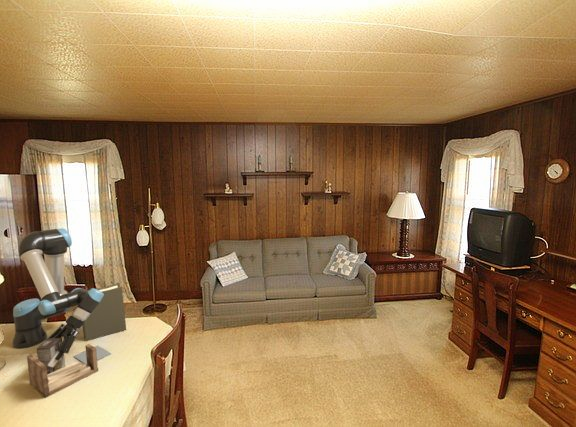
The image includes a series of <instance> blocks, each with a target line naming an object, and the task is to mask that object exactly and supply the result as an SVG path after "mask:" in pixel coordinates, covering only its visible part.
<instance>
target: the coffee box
mask: <svg viewBox="0 0 576 427" xmlns="http://www.w3.org/2000/svg"><path fill="white" fill-rule="evenodd" d="M48 338H49V337H48ZM48 338H47V339H48ZM47 339H45V340H44V341H43V342H42V343H41V344H40V345H39V346H38V347H37V348H36V354H37V355H36V357H37V356H38V358H37V359H38V360H39V361H40V362H42V363H43V364H44V365H46V367H47V374H50V373H52V372H55V371H57V370H59V369H62V368H64V367H66V363H65V362H66V360H65V353H64V354H63V355H62V356H61V358H60V359H59V360H58V362H57V363H56V364H55V366H54V367H50V366H48V363H49V362H50V361H51V359H52V358H53V357H54V355H55V354H56V353H57V351H58V350H60V348H61V345H62V342H63V337H62V338H49V339H48V340H47Z"/></svg>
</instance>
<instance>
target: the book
mask: <svg viewBox="0 0 576 427" xmlns="http://www.w3.org/2000/svg"><path fill="white" fill-rule="evenodd" d="M96 289H97V290H99V291H100V292H102V293H103V294H104V296H103V298H102V299H101V301H100V302H99V304H98V305H97V306H96V308H95V309H94V310H93V312H92V313H90V315H89V317H88V318H87V320H86V321H85V320H84V321H83V322H84V324H83V325H82V332H83V333H82V334H83V339H84V341H86V342H88V341H92V340H95V339H98V338H101V337H105V336H108V335H112V334H116V333H120V331H121V332H124V331H123V330H126V331H127V323H126V314H125V313H126V312H125V304H124V295H123V286H121V283H120V282H118V283H117V282H116V283H114V284H110V285H106V286H103V287H98V288H96ZM86 290H87V289H86ZM89 290H90V289H88V290H87V291H89ZM80 309H81V308H80ZM82 310H83V309H82ZM84 311H85V310H84ZM86 312H87V311H86ZM88 313H89V312H88Z"/></svg>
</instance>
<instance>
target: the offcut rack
mask: <svg viewBox="0 0 576 427" xmlns="http://www.w3.org/2000/svg"><path fill="white" fill-rule="evenodd" d="M84 348H85V351H86V358H87V365H86V364H84V363H82V362H80V361H76V362H74V363H72V364H69V365H67V366H65V367H64V368H62V369H59V370H57V371H55V372H52V373H50V374H47V367H46V365H44V364H43V363H42V362H40V361H39V360H38V358H37V357H36V356H34V355H33V354H29V355H27V356H26V359H27V368H28V377H29V384H30V386H31V387H32V388H33V389H35V390H36V391H37V392H38V393H39V394H40V395H41V396H43V398H44V399H46V398H48V397H50V396H52V395H54V394H56V393H58V392H60V391H62V390H64V389H66V388H68V387H70V386H72V385H74V384H76V383H77V382H80V381H81V380H83V379H86V378H88V377H90V376H91V375H93V374H96V373H98V372H99V367H98V366H99V365H98V361H97V352H96V348H95V346H93V345H91V344H90V343H87V344H86V345H85V346H84Z"/></svg>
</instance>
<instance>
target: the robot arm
mask: <svg viewBox="0 0 576 427" xmlns="http://www.w3.org/2000/svg"><path fill="white" fill-rule="evenodd" d="M72 241H73V240H72V236H71V234H70V233H69V231H68V230H67V229H65V228H62V227H61V228H54V229H52V228H51V229H45V230H38V231H32V232H29V233H27V234H26V235H25V236H23V238H21V241H20V242H19V245H18V248H17V249H18V250H17V252H18V256H19V258H20V260H21V261H24V262H23V263H25V266H26V268H27V270H28V272H29V275H30V277H31V279H32V281H33V284H34V286H35V288H36V290H37V293H38V295H39V297H40V299H39V298H29V299H26V300H23V301H20V302H18V303H17V304H16V305H15V306H13V310H12V311H13V314H12V317H13V320H14V322H13V323H14V329H15V333H14V337H13V340H12V347H13V348H14V349H26V348H30V347H34V346H36V345H39V344H42V343H44V342H45V341H46V340H48V339H49V338H62V341H63V342H62V345H61V348H60V350H58V351H57V353H56V354H55V355H54V357H53V358H52V359H51V361H50V362H49V363H48V366H50V367H54V366H55V364H56V363H57V362H58V360H59V359H60V358H61V356H62V355H63V354H64V355H65V354H68V353H69V352H70V350H71V348H72V346H73V344H74V342H75V340H76V338H77V336H78V335H79V333H80V332H79V331H77V330H78V329H81V328H82V327H83V324H84V322H83V321H84V320H85V321H86V320H87V318H88V317H89V315H90V313H92V312H93V310H94V309H95V308H96V306H97V305H98V304H99V302H100V301H101V299H102V298H103V296H104V294H103V293H102V292H100V291H99V290H97V288H93V287H91V288H90V289H88V290H89V291H87V289H86V288H81V287H77V288H74V289H73V290H71V291H70V292H68V291H67V290H66V289H65V254H66V253H67V252H68V248H70V247H71V246H72V244H73V242H72ZM43 255H44V257H45V260H44V257H43ZM75 306H76V307H75ZM73 307H75V309H74V310H73V312H71V315H69V316H68V318H67V319H66V320H65V323H66V324H65V323H61V324H60V325H59V326H58V328H57V329H56V330H54V332H52V333H51V334H50V336H48V335H47V331H46V329H45V328H44V326H43V323H42V321H44V320H46V319H50V318H52V317H56V316H58V315H63V314H64V313H67V312H69V311H70V310H71V308H73ZM80 308H81V309H80ZM82 309H83V310H82ZM84 310H85V311H84ZM86 311H87V312H86ZM88 312H89V313H88ZM36 358H37V359H38V356H37V355H36Z"/></svg>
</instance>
